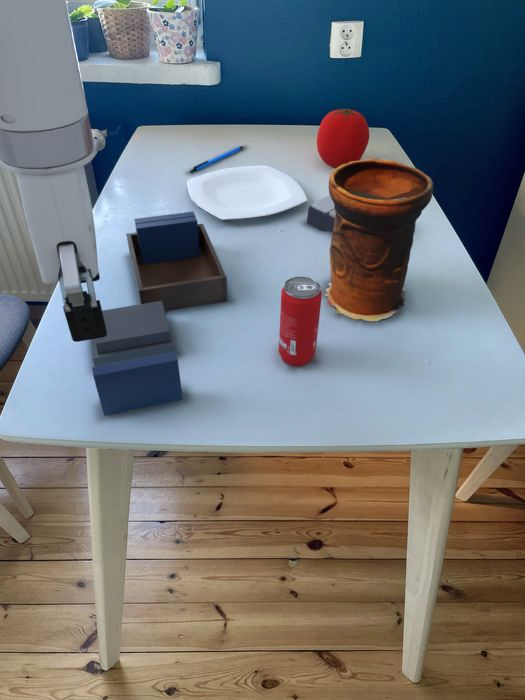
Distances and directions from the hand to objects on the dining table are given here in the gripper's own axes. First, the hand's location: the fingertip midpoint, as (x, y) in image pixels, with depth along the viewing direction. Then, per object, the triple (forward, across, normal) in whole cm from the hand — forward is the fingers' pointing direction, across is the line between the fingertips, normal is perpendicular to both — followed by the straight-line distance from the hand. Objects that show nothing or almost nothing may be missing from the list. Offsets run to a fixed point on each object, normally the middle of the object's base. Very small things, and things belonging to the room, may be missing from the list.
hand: (87, 307), depth 55 cm
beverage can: (+18, -5, +26) cm, 32 cm away
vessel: (+18, -16, +41) cm, 47 cm away
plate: (+18, -54, +32) cm, 65 cm away
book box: (+18, -29, +13) cm, 37 cm away
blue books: (+17, -36, +13) cm, 41 cm away
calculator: (+18, -37, +49) cm, 64 cm away
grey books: (+18, -14, +4) cm, 23 cm away
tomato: (+18, -65, +58) cm, 89 cm away
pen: (+18, -75, +31) cm, 83 cm away
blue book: (+18, -2, +4) cm, 18 cm away
